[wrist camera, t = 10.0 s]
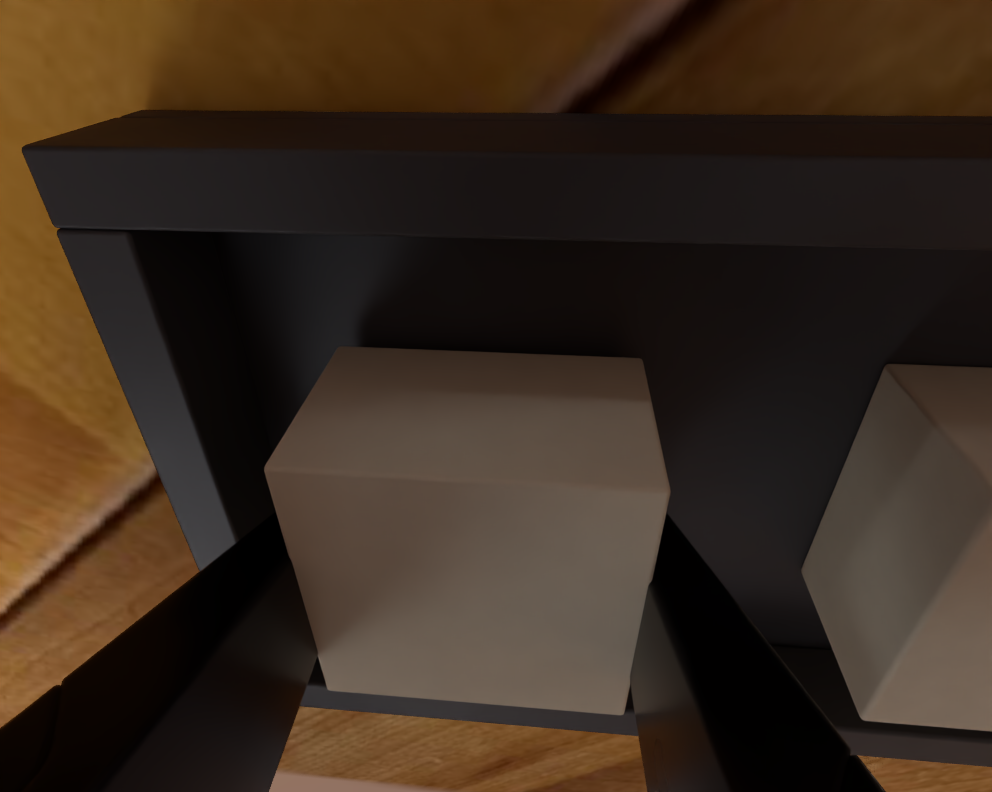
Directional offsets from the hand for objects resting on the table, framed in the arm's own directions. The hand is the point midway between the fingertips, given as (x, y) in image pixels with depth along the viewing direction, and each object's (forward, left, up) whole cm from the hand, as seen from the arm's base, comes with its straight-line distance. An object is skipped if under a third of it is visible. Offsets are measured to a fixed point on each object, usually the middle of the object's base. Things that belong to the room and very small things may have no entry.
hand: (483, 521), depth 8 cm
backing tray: (0, -3, -2) cm, 3 cm away
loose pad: (0, 0, -1) cm, 1 cm away
